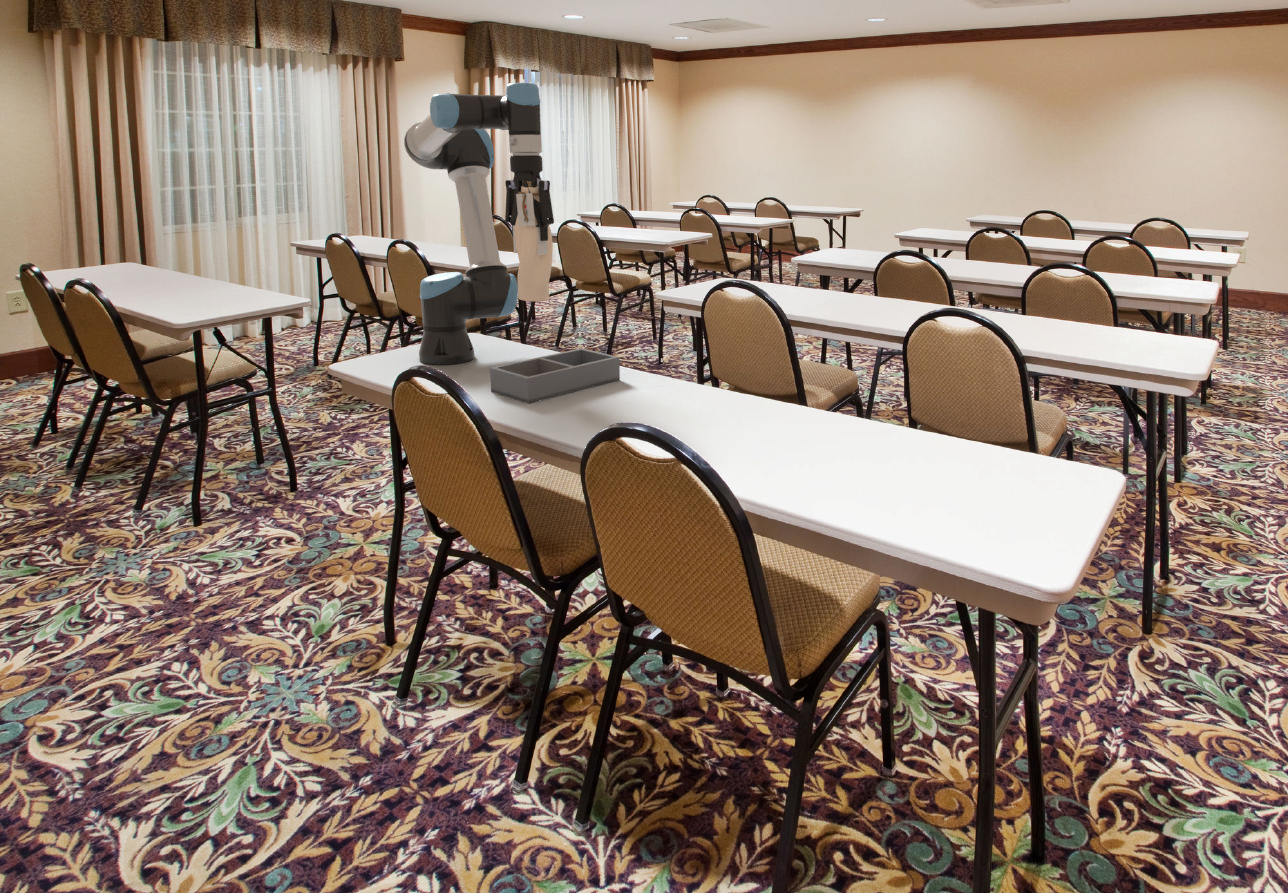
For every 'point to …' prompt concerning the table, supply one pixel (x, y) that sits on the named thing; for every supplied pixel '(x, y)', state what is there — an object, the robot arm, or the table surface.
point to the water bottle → (531, 249)
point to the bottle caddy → (554, 375)
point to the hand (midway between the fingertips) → (530, 253)
